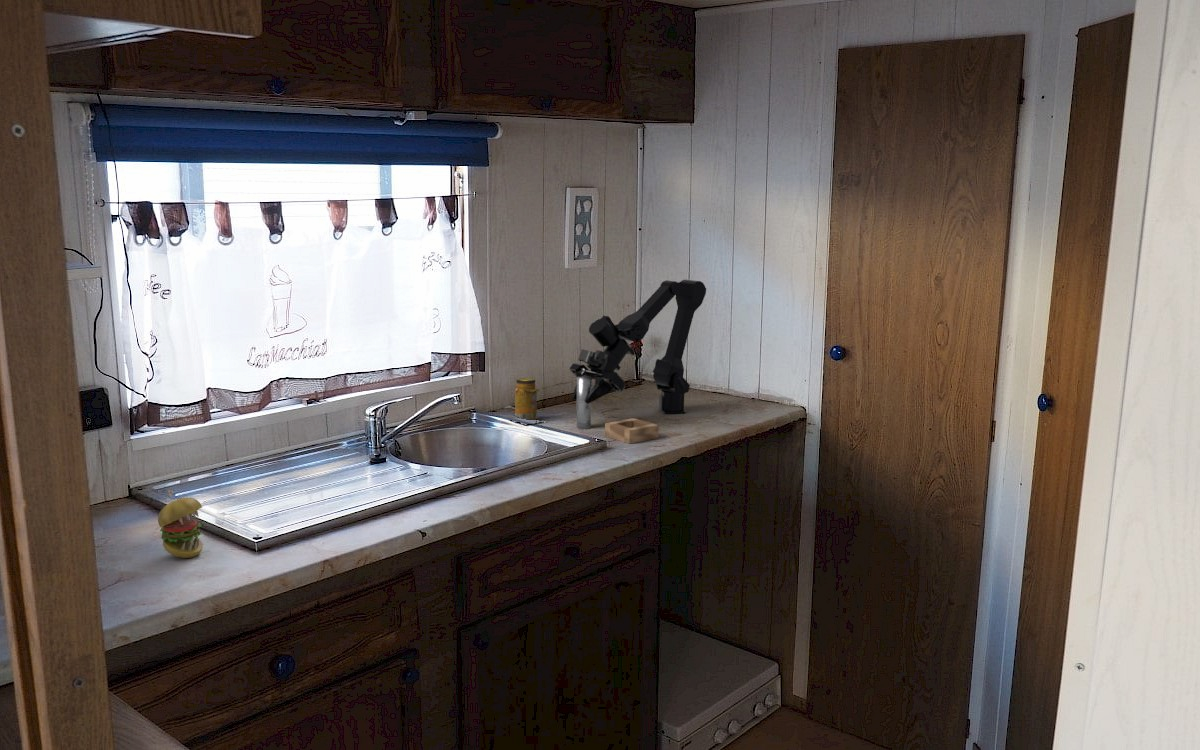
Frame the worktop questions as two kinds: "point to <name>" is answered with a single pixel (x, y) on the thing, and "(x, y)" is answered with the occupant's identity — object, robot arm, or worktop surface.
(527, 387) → the condiment
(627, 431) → the socket
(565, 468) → the worktop surface
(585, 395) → the peg
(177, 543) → the hamburger
